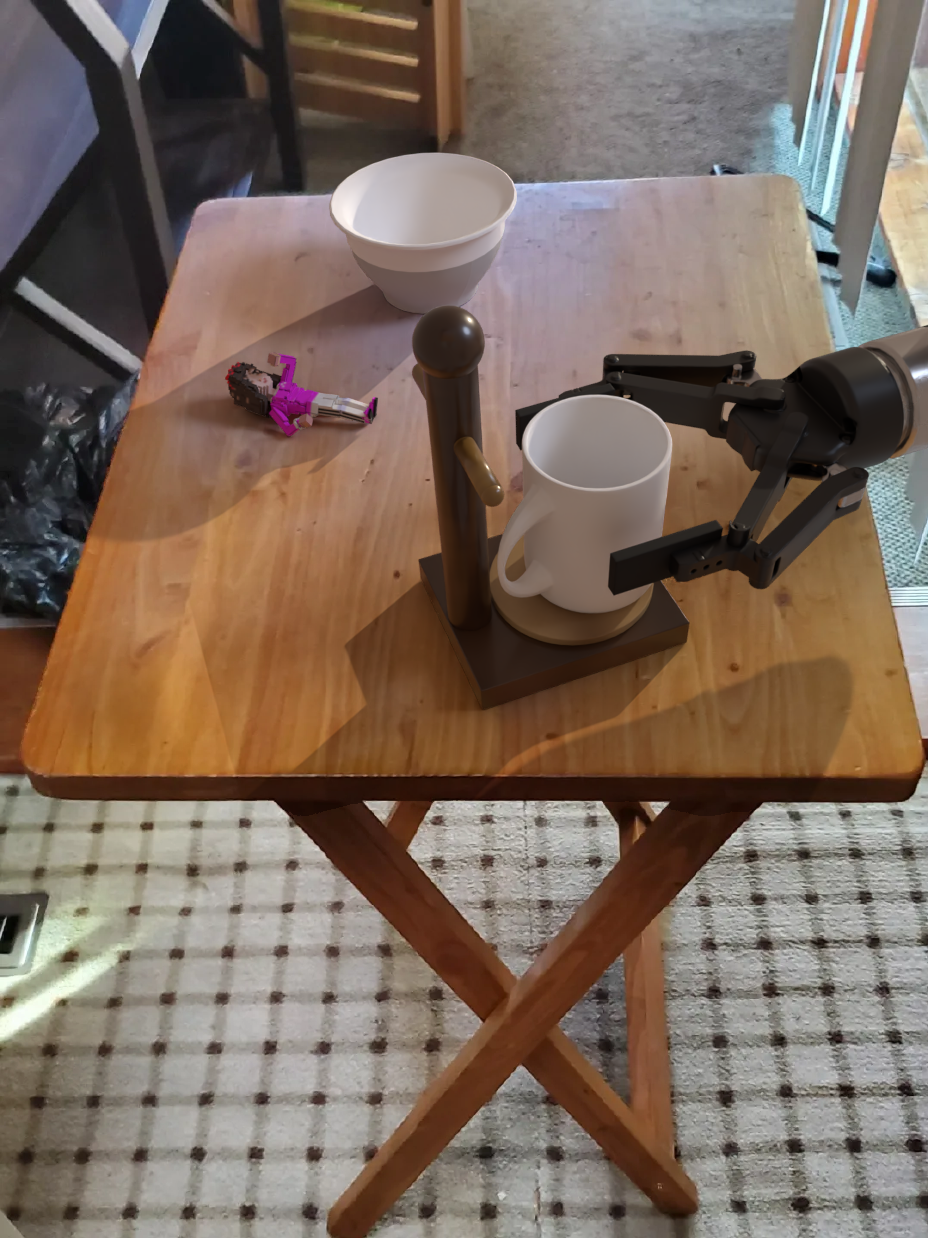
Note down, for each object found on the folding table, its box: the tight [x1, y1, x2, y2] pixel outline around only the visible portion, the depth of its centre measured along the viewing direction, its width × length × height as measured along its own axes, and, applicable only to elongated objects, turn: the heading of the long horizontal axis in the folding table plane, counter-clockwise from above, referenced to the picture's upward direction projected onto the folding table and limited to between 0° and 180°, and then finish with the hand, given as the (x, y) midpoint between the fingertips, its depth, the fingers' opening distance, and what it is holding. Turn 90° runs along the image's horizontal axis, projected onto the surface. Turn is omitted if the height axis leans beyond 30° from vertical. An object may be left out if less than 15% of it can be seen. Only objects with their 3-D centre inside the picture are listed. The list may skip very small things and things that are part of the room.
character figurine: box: [224, 351, 379, 437], centre depth 84 cm, size 6×5×12 cm
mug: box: [497, 395, 673, 613], centre depth 65 cm, size 9×12×11 cm
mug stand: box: [411, 305, 690, 711], centre depth 62 cm, size 14×12×24 cm
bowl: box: [328, 152, 518, 315], centre depth 94 cm, size 16×16×8 cm
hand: (560, 498), depth 64 cm, fingers open, 13 cm apart
